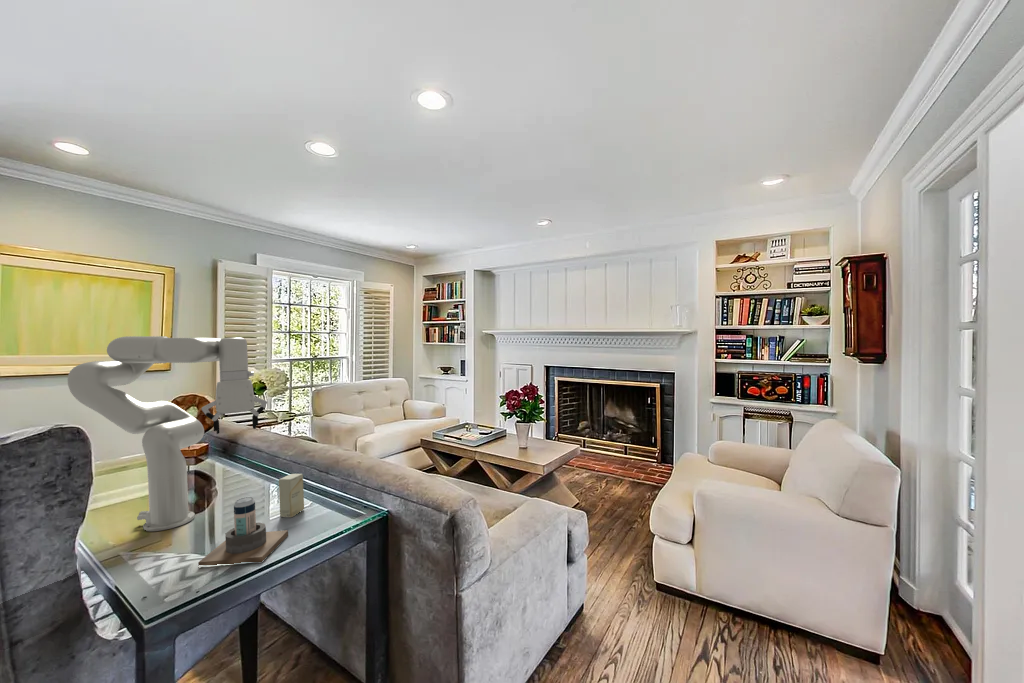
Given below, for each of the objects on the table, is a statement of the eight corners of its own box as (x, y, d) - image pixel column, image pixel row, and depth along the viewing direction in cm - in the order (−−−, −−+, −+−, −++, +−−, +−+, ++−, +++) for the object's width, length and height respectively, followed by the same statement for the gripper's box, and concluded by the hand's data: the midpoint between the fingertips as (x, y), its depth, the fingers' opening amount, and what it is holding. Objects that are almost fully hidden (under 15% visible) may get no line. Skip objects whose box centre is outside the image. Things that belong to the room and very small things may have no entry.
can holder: (198, 568, 104) (197, 546, 104) (232, 539, 118) (231, 520, 118) (262, 562, 105) (261, 540, 105) (288, 535, 120) (287, 516, 120)
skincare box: (291, 518, 132) (289, 479, 132) (279, 517, 133) (277, 479, 133) (305, 510, 138) (303, 473, 138) (293, 509, 139) (291, 473, 139)
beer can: (256, 538, 115) (254, 495, 115) (257, 545, 111) (255, 500, 111) (235, 544, 113) (233, 499, 113) (235, 551, 109) (233, 504, 109)
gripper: (264, 374, 140) (266, 424, 140) (200, 378, 130) (202, 433, 130) (267, 374, 134) (269, 428, 134) (200, 379, 124) (202, 437, 124)
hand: (236, 430), depth 132 cm, fingers open, 9 cm apart
